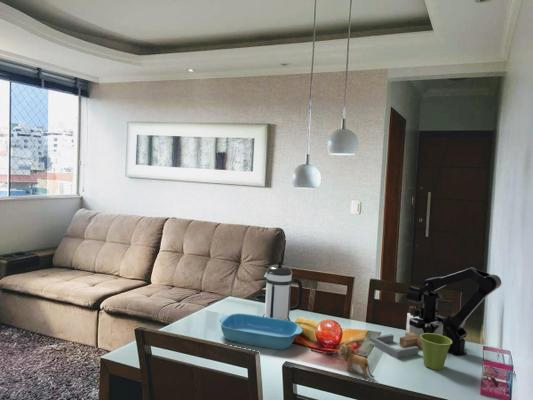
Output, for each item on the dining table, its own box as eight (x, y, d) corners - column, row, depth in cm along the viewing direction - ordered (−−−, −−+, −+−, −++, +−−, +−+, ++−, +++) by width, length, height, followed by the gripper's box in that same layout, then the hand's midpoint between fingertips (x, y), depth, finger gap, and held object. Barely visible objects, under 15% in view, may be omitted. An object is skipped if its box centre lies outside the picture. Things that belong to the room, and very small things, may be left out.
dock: (418, 354, 182) (419, 347, 182) (396, 359, 176) (397, 351, 176) (390, 340, 197) (390, 333, 197) (369, 343, 191) (369, 336, 191)
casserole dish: (305, 337, 195) (306, 321, 195) (296, 356, 174) (297, 338, 173) (228, 325, 205) (229, 310, 204) (210, 342, 183) (211, 325, 183)
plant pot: (433, 375, 163) (436, 345, 163) (411, 361, 174) (413, 334, 173) (456, 371, 168) (459, 342, 167) (433, 358, 179) (436, 331, 178)
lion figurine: (335, 368, 164) (336, 344, 164) (342, 363, 168) (343, 341, 168) (370, 381, 155) (372, 356, 155) (377, 376, 159) (379, 352, 159)
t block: (427, 348, 189) (428, 339, 189) (410, 352, 184) (411, 342, 184) (410, 340, 198) (411, 332, 198) (393, 343, 193) (394, 334, 193)
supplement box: (408, 336, 202) (442, 340, 200) (409, 317, 202) (443, 321, 199) (405, 330, 211) (438, 334, 208) (407, 312, 211) (439, 315, 208)
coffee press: (284, 328, 204) (288, 265, 202) (255, 321, 212) (259, 260, 210) (301, 319, 218) (304, 260, 217) (273, 312, 227) (277, 255, 225)
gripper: (430, 299, 206) (428, 331, 207) (401, 302, 198) (398, 336, 198) (450, 306, 196) (447, 340, 197) (420, 310, 188) (417, 345, 188)
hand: (427, 340), depth 196 cm, fingers closed
